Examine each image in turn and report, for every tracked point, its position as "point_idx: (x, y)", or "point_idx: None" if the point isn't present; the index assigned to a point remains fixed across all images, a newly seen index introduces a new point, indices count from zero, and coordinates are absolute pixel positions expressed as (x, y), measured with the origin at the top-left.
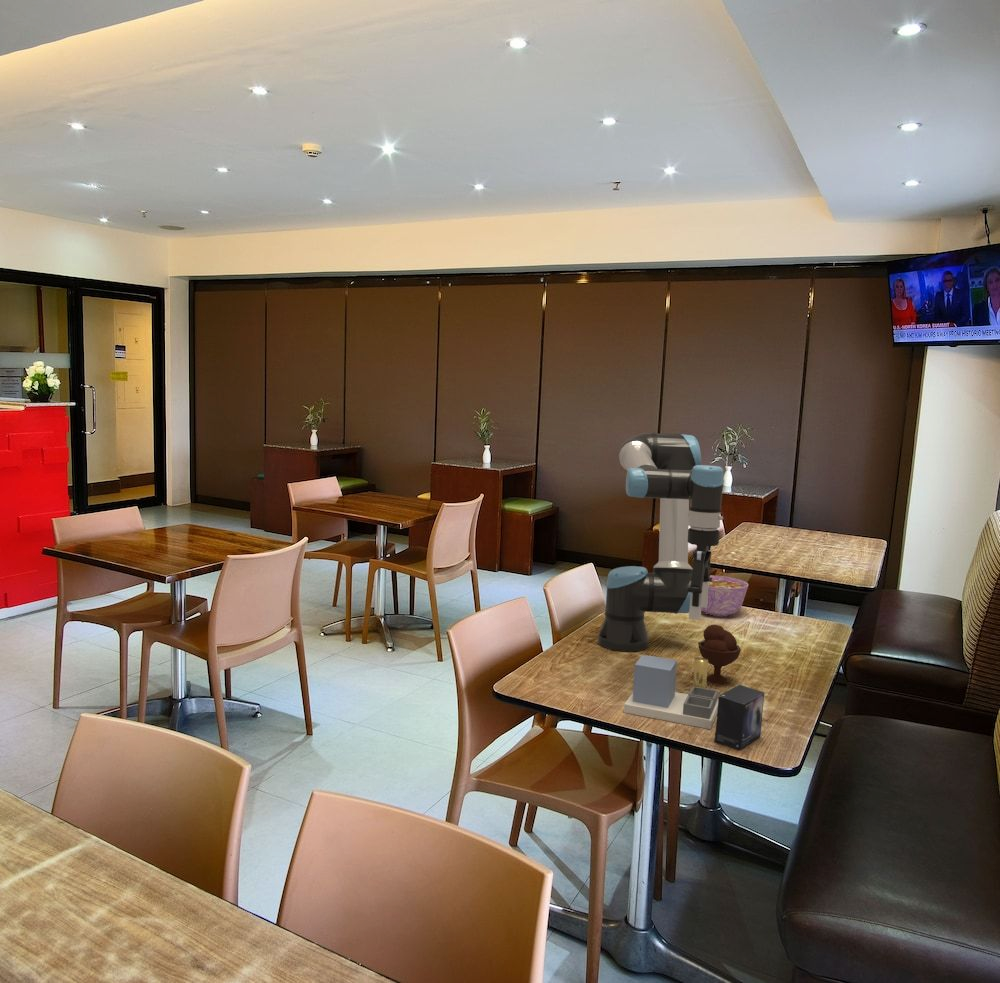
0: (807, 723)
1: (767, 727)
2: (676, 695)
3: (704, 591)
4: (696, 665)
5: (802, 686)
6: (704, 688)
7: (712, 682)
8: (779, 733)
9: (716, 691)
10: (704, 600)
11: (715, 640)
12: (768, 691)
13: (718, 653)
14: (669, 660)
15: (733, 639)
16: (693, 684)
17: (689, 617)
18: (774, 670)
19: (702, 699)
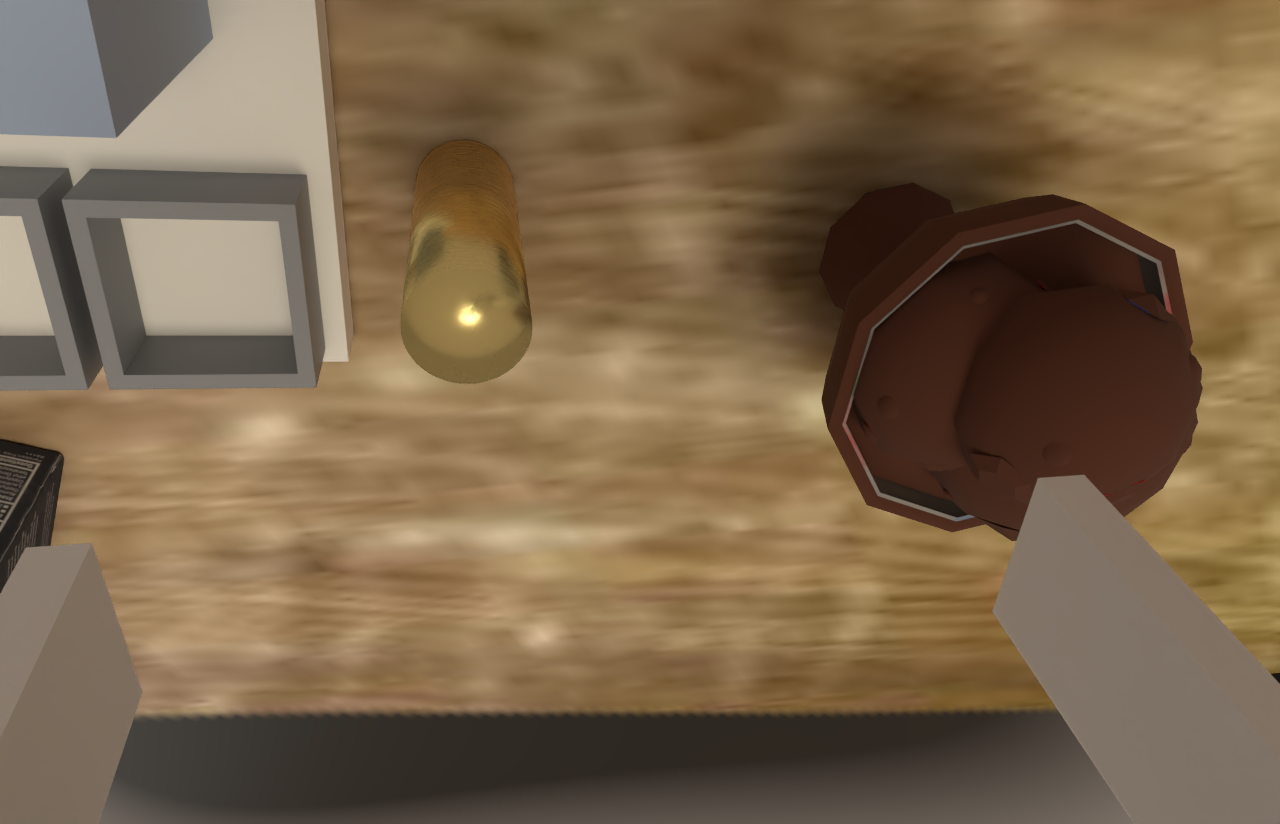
0: (398, 706)
1: (212, 582)
2: (238, 50)
3: (1172, 801)
4: (413, 270)
5: (923, 643)
6: (301, 295)
7: (832, 236)
8: (166, 633)
9: (290, 380)
10: (1066, 664)
11: (941, 411)
12: (789, 529)
13: (833, 395)
14: (32, 48)
15: (1008, 531)
16: (439, 182)
17: (16, 573)
18: (1151, 518)
19: (51, 309)
